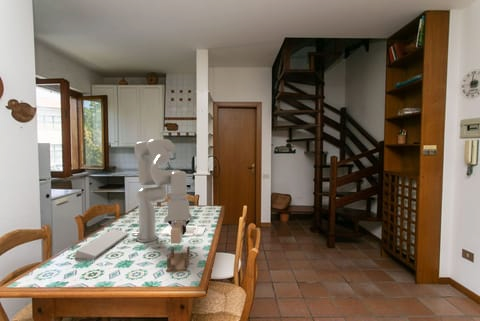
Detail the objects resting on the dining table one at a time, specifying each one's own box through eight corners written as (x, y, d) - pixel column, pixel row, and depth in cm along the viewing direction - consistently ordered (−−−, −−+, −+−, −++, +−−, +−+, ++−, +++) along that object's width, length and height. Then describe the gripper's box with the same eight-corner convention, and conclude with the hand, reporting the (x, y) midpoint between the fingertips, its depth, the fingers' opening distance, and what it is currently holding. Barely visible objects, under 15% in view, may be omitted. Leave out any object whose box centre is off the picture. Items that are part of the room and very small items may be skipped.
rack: (166, 271, 114) (166, 260, 114) (172, 254, 132) (172, 245, 132) (186, 270, 115) (186, 260, 115) (190, 254, 133) (190, 245, 133)
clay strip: (170, 243, 112) (170, 230, 111) (178, 228, 134) (178, 216, 133) (180, 243, 112) (179, 230, 112) (185, 227, 134) (185, 216, 134)
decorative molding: (126, 240, 161) (111, 235, 161) (128, 233, 160) (113, 228, 161) (93, 265, 127) (74, 259, 127) (95, 256, 126) (76, 250, 127)
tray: (202, 237, 161) (202, 231, 161) (158, 238, 161) (158, 232, 161) (206, 227, 181) (206, 222, 181) (167, 228, 181) (167, 223, 181)
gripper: (159, 198, 118) (159, 237, 118) (195, 197, 119) (195, 235, 120) (162, 195, 125) (163, 231, 126) (196, 195, 127) (196, 230, 127)
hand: (179, 233), depth 123 cm, fingers closed on clay strip, 4 cm apart
